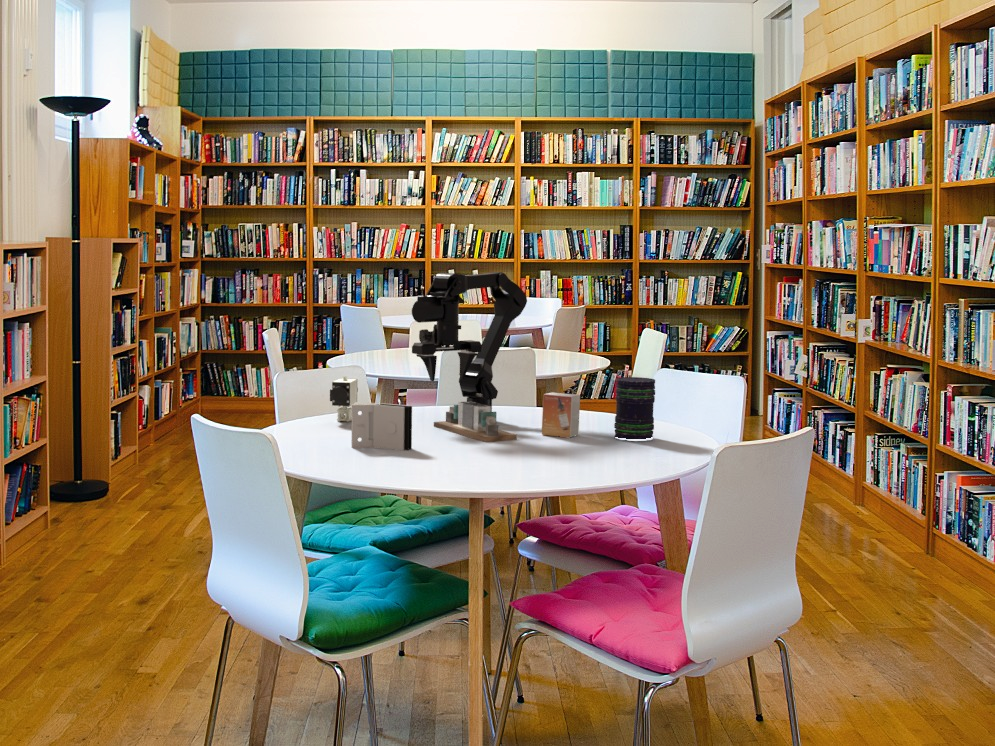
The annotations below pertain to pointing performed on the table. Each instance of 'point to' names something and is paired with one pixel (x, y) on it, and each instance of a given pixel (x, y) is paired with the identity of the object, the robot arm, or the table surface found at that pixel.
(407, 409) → the hinge
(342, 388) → the pneumatic valve
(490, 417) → the shaft coupling stand
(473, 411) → the block
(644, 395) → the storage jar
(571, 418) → the small box
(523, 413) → the table surface
